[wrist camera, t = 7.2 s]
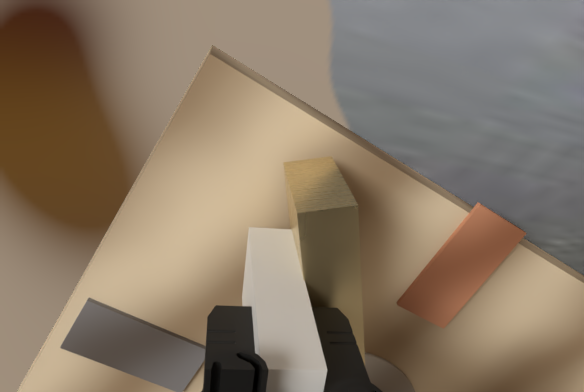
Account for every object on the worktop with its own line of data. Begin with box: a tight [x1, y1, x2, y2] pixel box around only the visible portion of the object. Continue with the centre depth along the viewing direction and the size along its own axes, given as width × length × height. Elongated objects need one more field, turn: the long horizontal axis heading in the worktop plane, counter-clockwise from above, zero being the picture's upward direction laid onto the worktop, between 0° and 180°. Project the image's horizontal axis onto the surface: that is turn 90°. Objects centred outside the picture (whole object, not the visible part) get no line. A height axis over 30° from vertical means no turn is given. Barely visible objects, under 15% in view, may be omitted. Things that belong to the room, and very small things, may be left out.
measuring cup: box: [283, 156, 383, 392], centre depth 18 cm, size 16×6×4 cm, turn 6°
